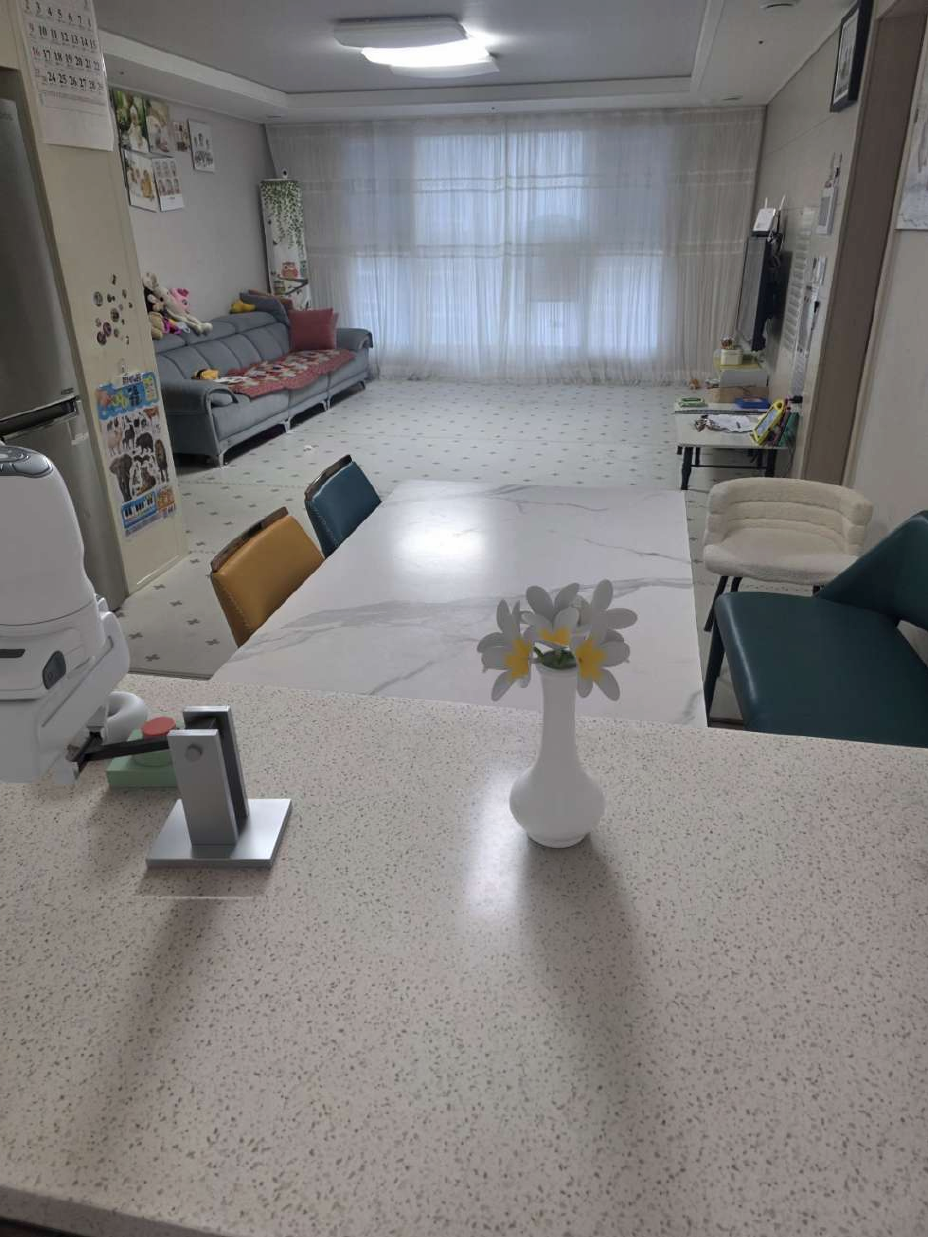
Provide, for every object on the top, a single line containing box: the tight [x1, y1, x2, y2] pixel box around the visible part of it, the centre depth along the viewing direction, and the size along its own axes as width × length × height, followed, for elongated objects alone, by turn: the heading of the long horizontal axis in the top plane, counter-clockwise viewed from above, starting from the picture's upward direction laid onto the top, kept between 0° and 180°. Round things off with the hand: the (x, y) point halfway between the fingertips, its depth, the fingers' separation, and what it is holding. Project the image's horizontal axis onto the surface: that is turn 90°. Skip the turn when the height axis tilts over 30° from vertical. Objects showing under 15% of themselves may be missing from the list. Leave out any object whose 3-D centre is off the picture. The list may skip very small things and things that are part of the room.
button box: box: [105, 719, 185, 788], centre depth 92 cm, size 10×8×4 cm
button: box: [142, 716, 177, 738], centre depth 91 cm, size 4×4×2 cm
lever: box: [68, 718, 224, 774], centre depth 77 cm, size 14×5×2 cm, turn 88°
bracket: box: [144, 705, 294, 870], centre depth 79 cm, size 12×9×14 cm
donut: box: [69, 690, 149, 749], centre depth 99 cm, size 10×4×10 cm
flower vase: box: [476, 578, 639, 849], centre depth 77 cm, size 13×18×25 cm
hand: (83, 762), depth 78 cm, fingers closed on lever, 5 cm apart
